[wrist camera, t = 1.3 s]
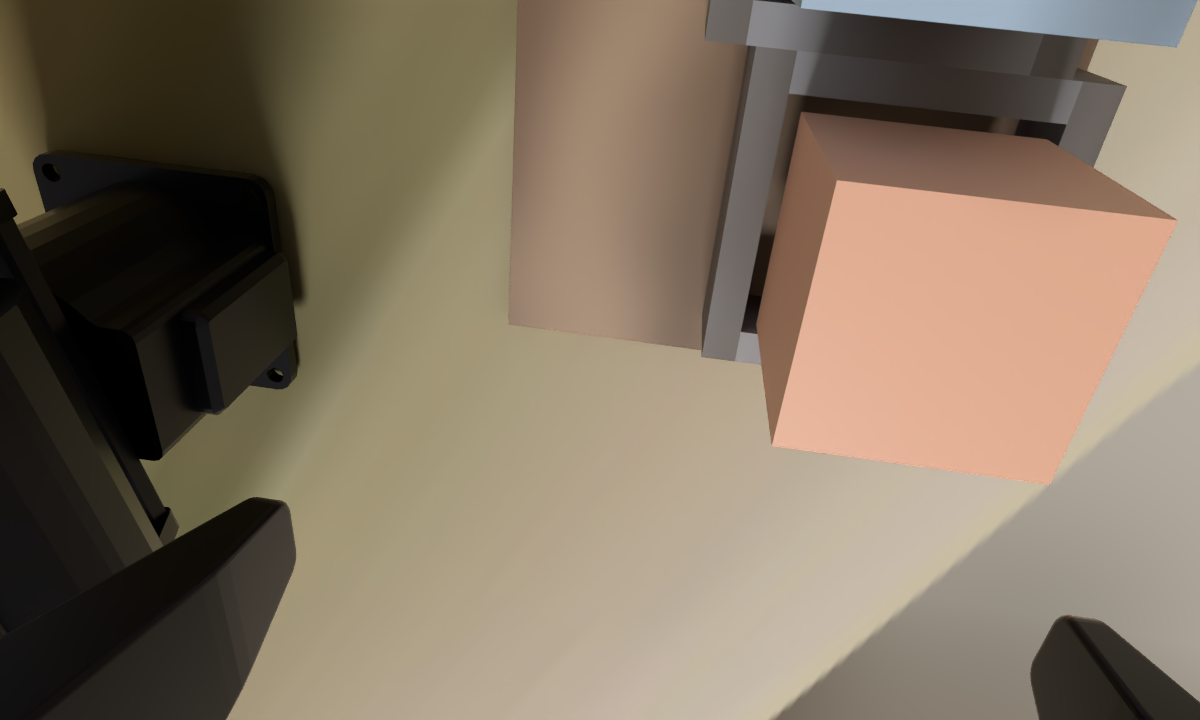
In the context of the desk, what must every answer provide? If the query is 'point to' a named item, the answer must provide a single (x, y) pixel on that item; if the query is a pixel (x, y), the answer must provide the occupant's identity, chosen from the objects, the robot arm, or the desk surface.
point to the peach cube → (946, 295)
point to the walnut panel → (730, 144)
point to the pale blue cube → (1039, 16)
